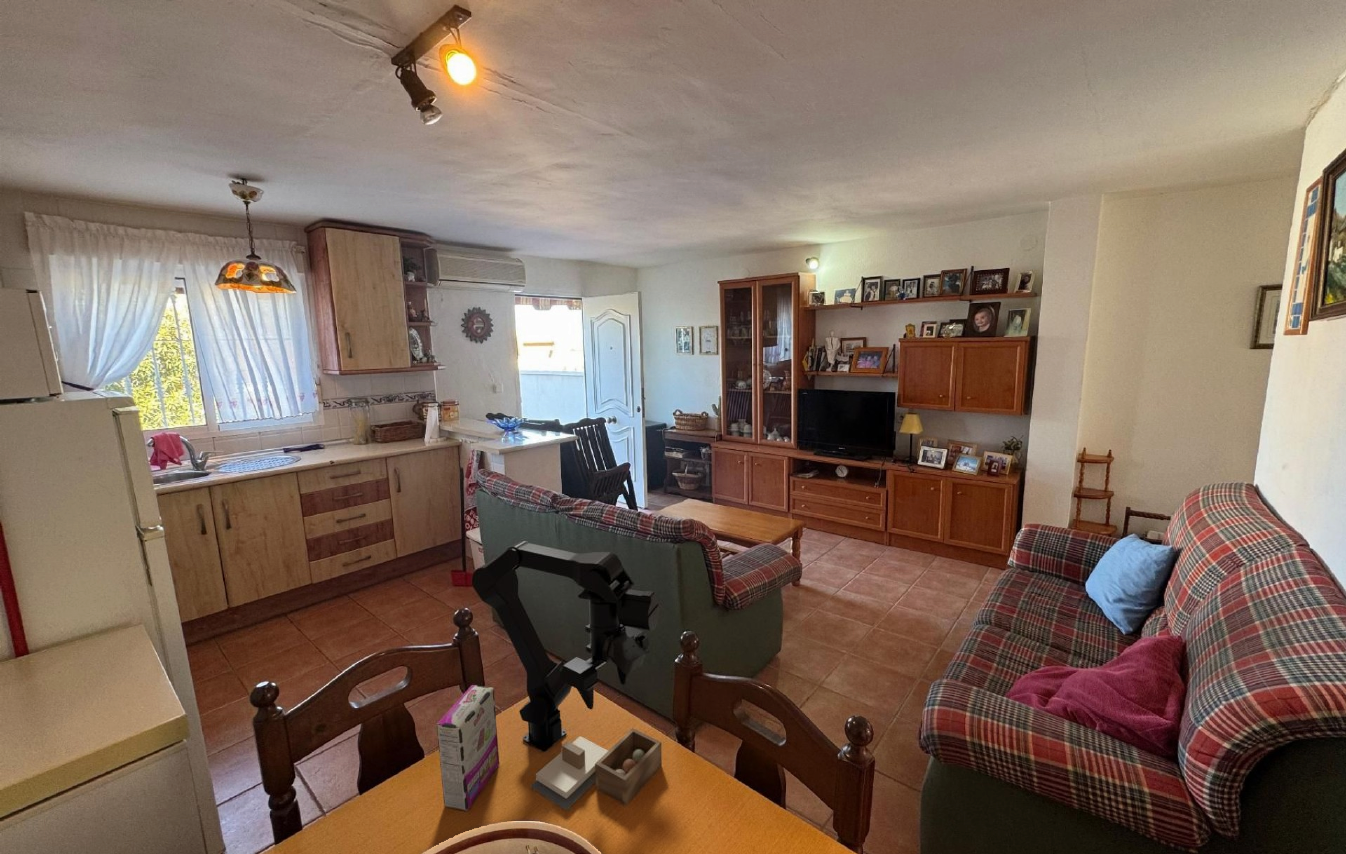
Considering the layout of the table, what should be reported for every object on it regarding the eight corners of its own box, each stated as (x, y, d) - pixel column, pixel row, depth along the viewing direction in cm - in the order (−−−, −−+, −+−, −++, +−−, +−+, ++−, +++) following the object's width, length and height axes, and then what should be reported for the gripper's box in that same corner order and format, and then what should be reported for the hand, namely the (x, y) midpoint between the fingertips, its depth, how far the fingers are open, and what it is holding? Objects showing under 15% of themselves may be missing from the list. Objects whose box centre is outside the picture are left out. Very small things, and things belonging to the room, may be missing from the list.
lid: (566, 803, 94) (565, 777, 94) (536, 784, 99) (535, 759, 98) (609, 761, 104) (609, 737, 103) (580, 745, 108) (579, 722, 107)
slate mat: (530, 787, 99) (530, 785, 98) (580, 744, 109) (580, 742, 109) (566, 810, 94) (566, 808, 94) (614, 763, 104) (614, 760, 104)
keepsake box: (625, 805, 95) (625, 780, 94) (595, 788, 98) (595, 763, 98) (661, 765, 104) (661, 742, 103) (632, 750, 108) (632, 728, 107)
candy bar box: (476, 760, 105) (471, 683, 103) (500, 764, 104) (495, 686, 102) (441, 808, 94) (434, 723, 92) (467, 813, 93) (461, 726, 91)
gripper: (600, 657, 90) (603, 741, 93) (668, 613, 105) (669, 686, 107) (556, 636, 97) (559, 715, 99) (625, 598, 112) (627, 667, 114)
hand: (607, 695), depth 105 cm, fingers open, 9 cm apart
